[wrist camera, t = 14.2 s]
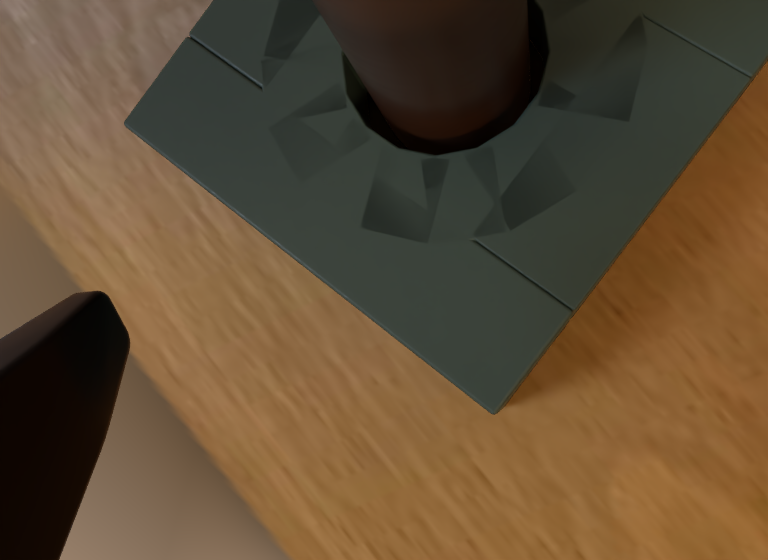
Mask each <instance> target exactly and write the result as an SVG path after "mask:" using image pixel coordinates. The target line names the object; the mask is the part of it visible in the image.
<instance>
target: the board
mask: <svg viewBox="0 0 768 560" xmlns="http://www.w3.org/2000/svg"><path fill="white" fill-rule="evenodd" d="M527 6H528V31H529V39H530V41H531V42H532V44H533V45H534V47H535V48H536V50H537V51H538V53H539V54H540V56H541V57H542V60H543V66H544V72H543V76H542V80H541V84H540V87H539V91H538V93H537V94H536V96H535V97H534V98H533V100H532V101H531V102H530V104H529V105H528V106H527V108H526V109H525V110H524V112H523V113H522V114H521V116H520V117H519V118H518V120H517V121H516V122H515V124H514V125H512V126H511V127H509V128H508V129H506V130H504V131H503V132H501V133H500V134H498V135H496V136H495V137H493V138H492V139H490V140H488V141H487V142H485V143H483V144H482V145H480V146H479V147H477V148H472V149H466V150H461V151H456V152H451V153H445V154H440V155H433V154H428V153H423V152H418V151H413V150H408V149H403V148H398V147H397V146H395V145H394V144H392V143H391V142H389V141H388V140H386V139H385V138H384V137H382V136H381V135H379V134H378V133H376V132H375V131H374V130H372V128H371V123H370V115H369V107H368V99H367V89H366V87H365V86H364V84H363V82H362V81H361V79H360V78H359V76H358V74H357V73H356V71H355V69H354V68H353V66H352V65H351V63H350V61H349V60H348V58H347V56H346V55H345V53H344V52H343V50H342V48H341V47H340V45H339V43H338V42H337V40H336V39H335V37H334V35H333V34H332V32H331V30H330V29H329V27H328V26H327V24H326V22H325V21H324V19H323V17H322V16H321V14H320V13H319V11H318V9H317V8H316V6H315V4H314V3H313V1H312V0H213V1H212V3H211V4H210V6H209V7H208V8H207V10H206V11H205V12H204V14H203V15H202V16H201V18H200V19H199V21H198V22H197V23H196V25H195V26H194V27H193V29H192V30H191V31H190V34H189V35H190V37H191V38H190V37H187V38H185V40H184V41H183V42H182V44H181V45H180V46H179V48H178V49H177V51H176V52H175V53H174V55H173V56H172V57H171V59H170V60H169V61H168V63H167V64H166V66H165V67H164V68H163V70H162V71H161V72H160V74H159V75H158V77H157V78H156V79H155V81H154V82H153V83H152V85H151V86H150V87H149V89H148V90H147V92H146V93H145V94H144V96H143V97H142V98H141V100H140V101H139V102H138V104H137V105H136V107H135V108H134V109H133V111H132V112H131V113H130V115H129V116H128V117H127V119H126V120H125V122H124V125H125V126H126V127H127V128H128V129H129V130H130V131H132V132H133V133H134V134H136V135H137V136H138V137H139V138H141V139H142V140H143V141H144V142H146V143H147V144H148V145H150V146H151V147H152V148H153V149H155V150H156V151H157V152H158V153H160V154H161V155H162V156H164V157H165V158H166V159H167V160H169V161H170V162H171V163H172V164H174V165H175V166H176V167H178V168H179V169H180V170H181V171H183V172H184V173H185V174H186V175H188V176H189V177H190V178H192V179H193V180H194V181H195V182H197V183H198V184H199V185H200V186H202V187H203V188H204V189H206V190H207V191H208V192H209V193H211V194H212V195H213V196H214V197H216V198H217V199H218V200H220V201H221V202H222V203H223V204H225V205H226V206H227V207H228V208H230V209H231V210H232V211H234V212H235V213H236V214H237V215H239V216H240V217H241V218H242V219H244V220H245V221H246V222H248V223H249V224H250V225H251V226H253V227H254V228H255V229H256V230H258V231H259V232H260V233H262V234H263V235H264V236H265V237H267V238H268V239H269V240H270V241H272V242H273V243H274V244H276V245H277V246H278V247H279V248H281V249H282V250H283V251H284V252H286V253H287V254H288V255H290V256H291V257H292V258H293V259H295V260H296V261H297V262H299V263H300V264H301V265H302V266H304V267H305V268H306V269H307V270H309V271H310V272H311V273H313V274H314V275H315V276H316V277H318V278H319V279H320V280H321V281H323V282H324V283H325V284H327V285H328V286H329V287H330V288H332V289H333V290H334V291H335V292H337V293H338V294H339V295H341V296H342V297H343V298H344V299H346V300H347V301H348V302H349V303H351V304H352V305H353V306H355V307H356V308H357V309H358V310H360V311H361V312H362V313H363V314H365V315H366V316H367V317H369V318H370V319H371V320H372V321H374V322H375V323H376V324H377V325H379V326H380V327H381V328H383V329H384V330H385V331H386V332H388V333H389V334H390V335H391V336H393V337H394V338H395V339H397V340H398V341H399V342H400V343H402V344H403V345H404V346H405V347H407V348H408V349H409V350H411V351H412V352H413V353H414V354H416V355H417V356H418V357H419V358H421V359H422V360H423V361H425V362H426V363H427V364H428V365H430V366H431V367H432V368H433V369H435V370H436V371H437V372H439V373H440V374H441V375H442V376H444V377H445V378H446V379H448V380H449V381H450V382H451V383H453V384H454V385H455V386H456V387H458V388H459V389H460V390H462V391H463V392H464V393H465V394H467V395H468V396H469V397H470V398H472V399H473V400H474V401H476V402H477V403H478V404H479V405H481V406H482V407H483V408H484V409H486V410H487V411H488V412H490V413H491V414H494V415H495V414H496V413H498V412H499V411H500V410H501V409H503V407H504V406H505V405H506V403H507V402H508V401H509V400H510V398H511V397H512V396H513V394H514V393H515V392H516V390H517V389H518V388H519V386H520V385H521V384H522V382H523V381H524V380H525V379H526V377H527V376H528V375H529V373H530V372H531V371H532V369H533V368H534V367H535V365H536V364H537V363H538V361H539V360H540V359H541V358H542V356H543V355H544V354H545V352H546V351H547V350H548V348H549V347H550V346H551V344H552V343H553V342H554V340H555V339H556V338H557V337H558V335H559V334H560V333H561V331H562V330H563V329H564V327H565V326H566V325H567V323H568V322H569V320H570V319H571V318H572V317H573V316H574V314H575V313H576V312H577V310H578V309H579V308H580V306H581V305H582V304H583V302H584V301H585V300H586V298H587V297H588V296H589V295H590V293H591V292H592V291H593V289H594V288H595V287H596V285H597V284H598V283H599V281H600V280H601V279H602V277H603V276H604V275H605V274H606V272H607V271H608V270H609V268H610V267H611V266H612V264H613V263H614V262H615V260H616V259H617V258H618V256H619V255H620V254H621V253H622V251H623V250H624V249H625V247H626V246H627V245H628V243H629V242H630V241H631V239H632V238H633V237H634V235H635V234H636V233H637V232H638V230H639V229H640V228H641V226H642V225H643V224H644V222H645V221H646V220H647V218H648V217H649V216H650V214H651V213H652V212H653V211H654V209H655V208H656V207H657V205H658V204H659V203H660V201H661V200H662V199H663V197H664V196H665V195H666V193H667V192H668V191H669V190H670V188H671V187H672V186H673V184H674V183H675V182H676V180H677V179H678V178H679V176H680V175H681V174H682V172H683V171H684V170H685V169H686V167H687V166H688V165H689V163H690V162H691V161H692V159H693V158H694V157H695V155H696V154H697V153H698V151H699V150H700V149H701V147H702V146H703V145H704V144H705V142H706V141H707V140H708V138H709V137H710V136H711V134H712V133H713V132H714V130H715V129H716V128H717V126H718V125H719V124H720V123H721V121H722V120H723V119H724V117H725V116H726V115H727V113H728V112H729V111H730V109H731V108H732V107H733V105H734V104H735V103H736V102H737V100H738V99H739V98H740V96H741V95H742V94H743V92H744V91H745V90H746V88H747V87H748V86H749V84H750V83H751V82H752V81H753V79H754V78H755V77H756V75H757V74H758V73H759V71H760V70H761V69H762V67H763V66H764V65H765V63H766V62H767V61H768V0H527Z"/></svg>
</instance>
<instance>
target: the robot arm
mask: <svg viewBox="0 0 768 560" xmlns="http://www.w3.org/2000/svg"><path fill="white" fill-rule="evenodd" d="M129 349H130V338H129V334H128V331H127V329H126V327H125V326H124V324H123V322H122V320H121V318H120V316H119V314H118V313H117V311H116V309H115V307H114V305H113V303H112V301H111V300H110V298H109V296H108V295H106V294H105V293H104V292H101V291H91V292H80V293H75V294H73V295H71V296H70V297H68V298H66V299H65V300H63V301H61V302H60V303H58V304H56V305H55V306H53V307H52V308H50V309H48V310H47V311H45V312H43V313H42V314H40V315H38V316H37V317H35V318H34V319H32V320H30V321H29V322H27V323H25V324H24V325H22V326H21V327H19V328H17V329H16V330H14V331H13V332H11V333H9V334H8V335H6V336H4V337H3V338H1V339H0V560H59V559H60V556H61V553H62V551H63V548H64V546H65V543H66V541H67V538H68V535H69V533H70V530H71V528H72V525H73V522H74V520H75V517H76V515H77V512H78V509H79V507H80V504H81V502H82V499H83V496H84V494H85V491H86V489H87V486H88V483H89V481H90V478H91V475H92V473H93V470H94V468H95V465H96V462H97V460H98V457H99V455H100V452H101V449H102V446H103V444H104V441H105V438H106V434H107V431H108V428H109V425H110V421H111V417H112V414H113V410H114V406H115V402H116V398H117V395H118V391H119V387H120V383H121V380H122V376H123V372H124V368H125V365H126V361H127V357H128V354H129Z"/></svg>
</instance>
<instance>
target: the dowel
mask: <svg viewBox="0 0 768 560" xmlns="http://www.w3.org/2000/svg"><path fill="white" fill-rule="evenodd" d="M312 1H313V3H314V4H315V6H316V8H317V9H318V11H319V13H320V14H321V16H322V17H323V19H324V21H325V22H326V24H327V26H328V27H329V29H330V30H331V32H332V34H333V35H334V37H335V39H336V40H337V42H338V43H339V45H340V47H341V48H342V50H343V52H344V53H345V55H346V56H347V58H348V60H349V61H350V63H351V65H352V66H353V68H354V69H355V71H356V73H357V74H358V76H359V78H360V79H361V81H362V82H363V84H364V86H365V87H366V89H367V91H368V92H369V94H370V95H371V97H372V99H373V100H374V102H375V103H376V105H377V107H378V108H379V110H380V112H381V113H382V115H383V116H384V118H385V120H386V121H387V123H388V125H389V126H390V128H391V129H392V131H393V133H394V134H395V135H396V137H397V138H398V139H399V140H400V141H401V142H402V143H403V144H404V145H405V146H406V147H408V148H409V149H410V150H413V151H418V152H423V153H428V154H433V155H440V154H445V153H451V152H456V151H461V150H466V149H472V148H477V147H479V146H480V145H482V144H483V143H485V142H487V141H488V140H490V139H492V138H493V137H495V136H496V135H498V134H500V133H501V132H503V131H504V130H506V129H508V128H509V127H511V126H512V125H514V124H515V122H516V121H517V120H518V118H519V117H520V116H521V114H522V113H523V112H524V110H525V109H526V108H527V105H528V102H529V97H530V83H531V81H530V56H529V31H528V6H527V0H312Z"/></svg>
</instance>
